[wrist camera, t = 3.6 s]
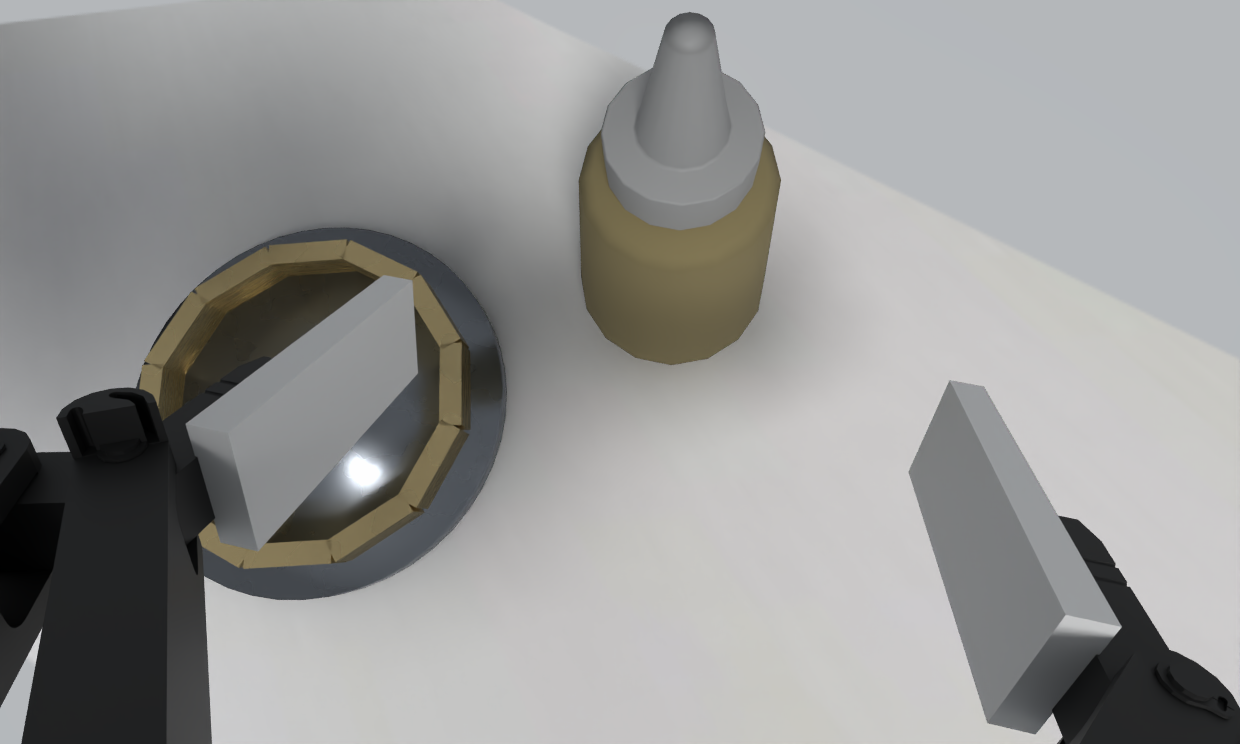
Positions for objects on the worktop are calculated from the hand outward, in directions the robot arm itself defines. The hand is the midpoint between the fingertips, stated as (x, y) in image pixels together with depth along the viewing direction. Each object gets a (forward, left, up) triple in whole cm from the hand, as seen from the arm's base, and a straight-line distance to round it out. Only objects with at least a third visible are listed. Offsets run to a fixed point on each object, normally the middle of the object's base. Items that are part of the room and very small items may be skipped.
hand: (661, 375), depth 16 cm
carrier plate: (-16, -5, -15) cm, 22 cm away
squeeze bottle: (-3, +7, -15) cm, 17 cm away
